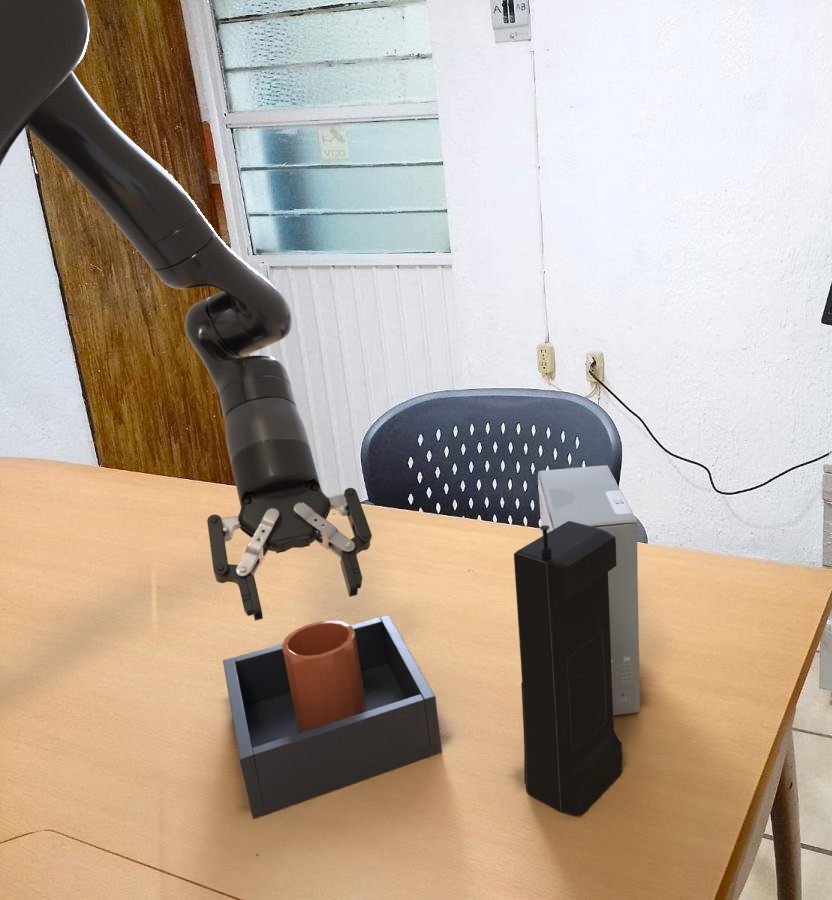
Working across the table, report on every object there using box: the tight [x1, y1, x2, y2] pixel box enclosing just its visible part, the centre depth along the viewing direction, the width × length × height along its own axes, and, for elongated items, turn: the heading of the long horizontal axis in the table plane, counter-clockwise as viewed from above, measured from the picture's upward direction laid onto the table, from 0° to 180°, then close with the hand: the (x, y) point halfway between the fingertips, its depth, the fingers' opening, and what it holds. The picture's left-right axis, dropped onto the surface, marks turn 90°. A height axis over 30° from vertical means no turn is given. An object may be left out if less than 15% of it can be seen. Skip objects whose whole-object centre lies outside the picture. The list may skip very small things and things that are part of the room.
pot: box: [281, 620, 367, 733], centre depth 76 cm, size 6×6×9 cm
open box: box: [222, 614, 443, 820], centre depth 77 cm, size 16×16×6 cm
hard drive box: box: [537, 465, 641, 717], centre depth 82 cm, size 16×8×20 cm, turn 9°
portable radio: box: [513, 521, 623, 816], centre depth 66 cm, size 8×6×25 cm
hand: (307, 605), depth 77 cm, fingers open, 8 cm apart
